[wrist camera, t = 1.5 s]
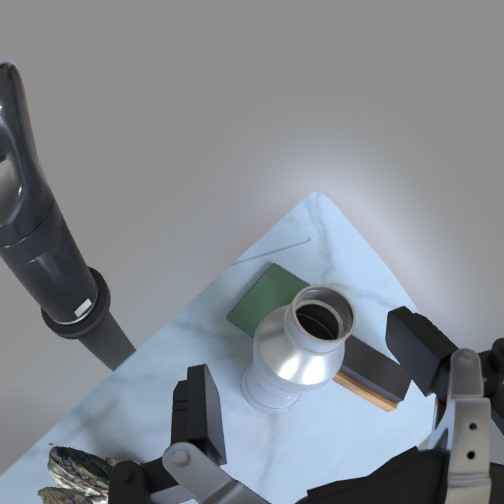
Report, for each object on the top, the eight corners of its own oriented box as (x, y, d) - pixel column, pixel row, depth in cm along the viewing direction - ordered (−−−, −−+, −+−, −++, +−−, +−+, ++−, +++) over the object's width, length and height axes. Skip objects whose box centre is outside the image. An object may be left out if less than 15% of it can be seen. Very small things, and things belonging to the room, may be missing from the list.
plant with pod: (105, 429, 24) (-12, 386, 9) (186, 489, 21) (138, 545, 6) (71, 471, 19) (-55, 458, 4) (149, 534, 17) (73, 604, 1)
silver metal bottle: (277, 427, 27) (354, 393, 12) (227, 395, 29) (238, 324, 14) (305, 382, 31) (392, 300, 16) (258, 354, 33) (299, 246, 18)
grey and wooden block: (299, 359, 33) (308, 348, 30) (318, 329, 36) (329, 316, 33) (387, 412, 29) (404, 405, 26) (401, 380, 31) (418, 371, 28)
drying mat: (226, 318, 36) (226, 316, 35) (273, 265, 42) (274, 262, 41) (285, 359, 33) (286, 357, 32) (326, 298, 39) (327, 295, 38)
